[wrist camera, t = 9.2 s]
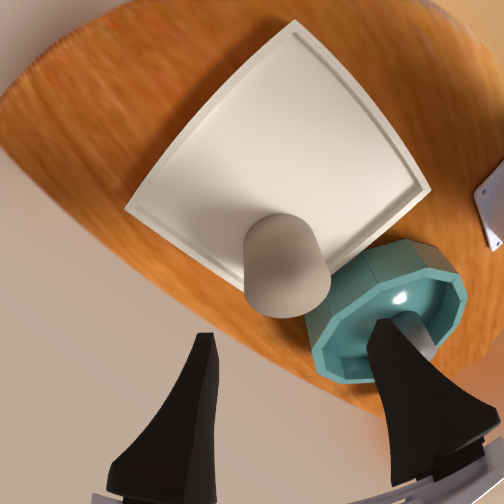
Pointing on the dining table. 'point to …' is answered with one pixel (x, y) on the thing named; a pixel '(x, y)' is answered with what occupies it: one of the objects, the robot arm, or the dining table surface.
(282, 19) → the dining table surface
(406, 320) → the charcoal stone
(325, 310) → the bowl
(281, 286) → the brown stone
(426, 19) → the dining table surface
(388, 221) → the parts tray
